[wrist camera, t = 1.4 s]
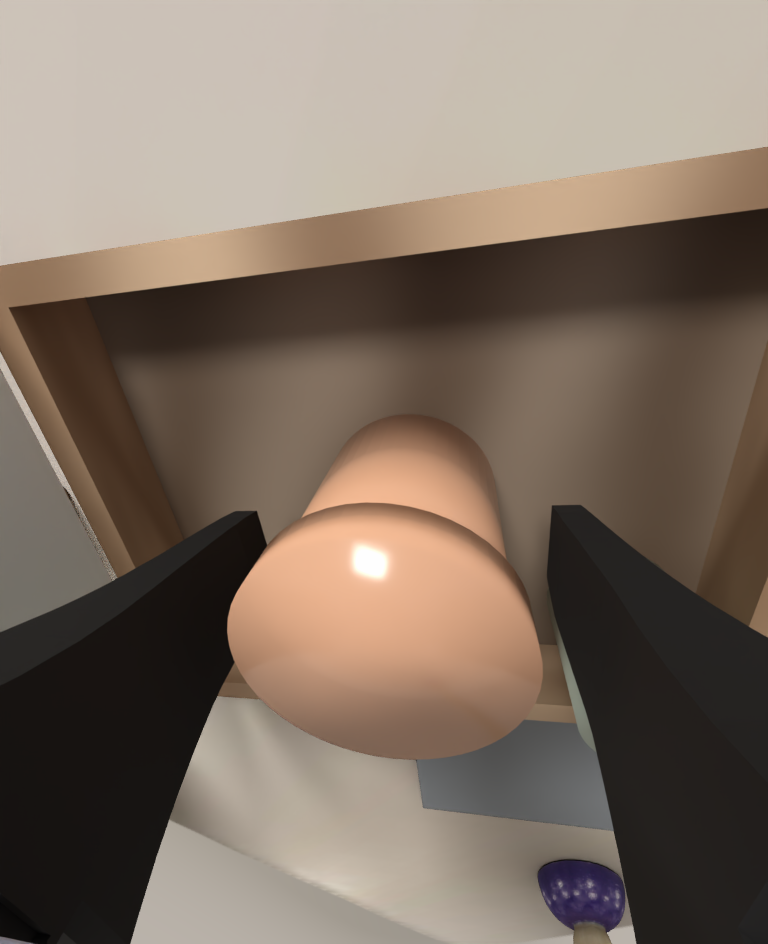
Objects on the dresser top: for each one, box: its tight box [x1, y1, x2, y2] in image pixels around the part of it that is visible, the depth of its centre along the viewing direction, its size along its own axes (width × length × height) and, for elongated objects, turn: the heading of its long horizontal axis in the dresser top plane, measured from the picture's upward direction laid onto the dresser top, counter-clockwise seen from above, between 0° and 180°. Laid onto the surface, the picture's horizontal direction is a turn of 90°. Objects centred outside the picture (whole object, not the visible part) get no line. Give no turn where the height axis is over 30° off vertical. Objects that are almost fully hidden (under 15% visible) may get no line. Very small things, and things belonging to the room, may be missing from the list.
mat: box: [416, 720, 614, 831], centre depth 18 cm, size 12×10×1 cm
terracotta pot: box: [227, 414, 543, 760], centre depth 10 cm, size 5×5×6 cm
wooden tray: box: [0, 147, 768, 723], centre depth 12 cm, size 18×14×3 cm
